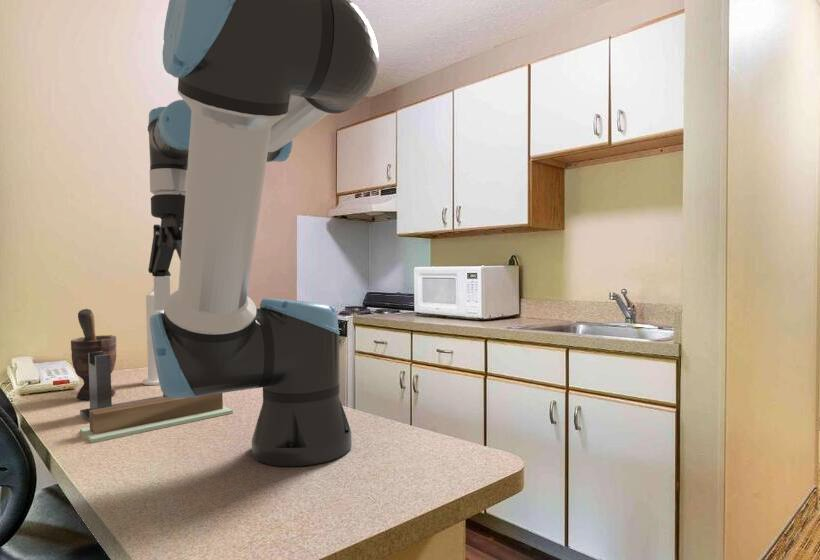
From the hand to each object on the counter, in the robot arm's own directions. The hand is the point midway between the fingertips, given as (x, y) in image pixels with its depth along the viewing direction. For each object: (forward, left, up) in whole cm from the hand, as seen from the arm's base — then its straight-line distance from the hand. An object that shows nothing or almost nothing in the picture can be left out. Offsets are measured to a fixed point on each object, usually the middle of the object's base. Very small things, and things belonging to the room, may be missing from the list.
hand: (176, 311), depth 97 cm
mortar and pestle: (+31, +7, -21) cm, 37 cm away
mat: (+2, +3, -20) cm, 21 cm away
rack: (+15, +3, -20) cm, 25 cm away
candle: (+38, -8, -21) cm, 44 cm away
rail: (+2, +3, -20) cm, 20 cm away
